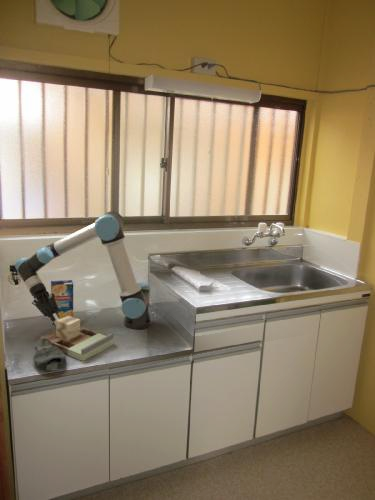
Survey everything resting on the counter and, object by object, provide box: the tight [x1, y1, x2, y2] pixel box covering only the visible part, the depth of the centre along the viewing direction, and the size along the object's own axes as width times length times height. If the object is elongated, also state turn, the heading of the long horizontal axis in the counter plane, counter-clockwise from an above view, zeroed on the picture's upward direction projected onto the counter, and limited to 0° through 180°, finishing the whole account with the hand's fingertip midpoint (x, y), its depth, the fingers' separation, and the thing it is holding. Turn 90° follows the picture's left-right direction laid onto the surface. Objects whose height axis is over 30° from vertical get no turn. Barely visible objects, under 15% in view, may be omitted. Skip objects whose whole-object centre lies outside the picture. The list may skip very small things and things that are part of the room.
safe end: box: [67, 332, 114, 362], centre depth 199 cm, size 10×21×6 cm, turn 150°
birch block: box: [55, 316, 81, 340], centre depth 205 cm, size 8×8×8 cm
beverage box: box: [50, 279, 74, 325], centre depth 226 cm, size 7×11×22 cm, turn 111°
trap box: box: [39, 326, 99, 356], centre depth 206 cm, size 18×21×3 cm
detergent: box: [32, 338, 67, 372], centre depth 187 cm, size 13×7×25 cm
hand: (59, 325), depth 207 cm, fingers closed
